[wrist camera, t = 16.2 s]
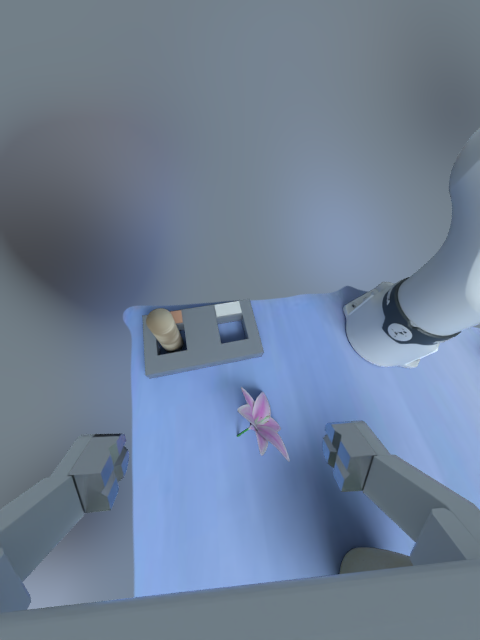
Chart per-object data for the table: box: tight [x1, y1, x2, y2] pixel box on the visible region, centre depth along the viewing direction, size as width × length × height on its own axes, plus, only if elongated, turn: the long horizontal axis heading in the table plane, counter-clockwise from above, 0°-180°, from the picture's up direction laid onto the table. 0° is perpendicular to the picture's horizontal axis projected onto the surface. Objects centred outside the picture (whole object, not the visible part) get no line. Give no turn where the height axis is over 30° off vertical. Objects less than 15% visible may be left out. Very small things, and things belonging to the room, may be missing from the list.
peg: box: [146, 308, 184, 353], centre depth 41 cm, size 4×4×12 cm
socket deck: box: [142, 299, 264, 379], centre depth 45 cm, size 22×12×3 cm, turn 103°
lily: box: [237, 387, 289, 461], centre depth 38 cm, size 12×12×10 cm
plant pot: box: [340, 547, 413, 574], centre depth 26 cm, size 15×15×16 cm
